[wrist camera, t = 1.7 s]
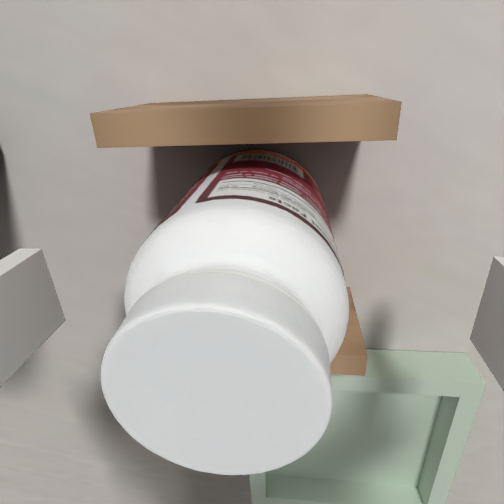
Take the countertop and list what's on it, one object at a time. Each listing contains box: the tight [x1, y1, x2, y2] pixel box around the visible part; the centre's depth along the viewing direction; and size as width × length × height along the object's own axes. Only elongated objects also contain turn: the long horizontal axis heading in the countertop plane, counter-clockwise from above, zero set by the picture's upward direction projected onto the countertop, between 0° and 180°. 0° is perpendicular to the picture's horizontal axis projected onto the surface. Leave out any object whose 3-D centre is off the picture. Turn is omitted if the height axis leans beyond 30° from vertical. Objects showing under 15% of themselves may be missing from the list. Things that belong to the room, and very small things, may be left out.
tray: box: [249, 349, 486, 504], centre depth 21 cm, size 12×12×2 cm
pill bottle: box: [101, 150, 349, 475], centre depth 12 cm, size 6×6×11 cm
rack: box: [90, 94, 401, 376], centre depth 14 cm, size 9×10×5 cm
